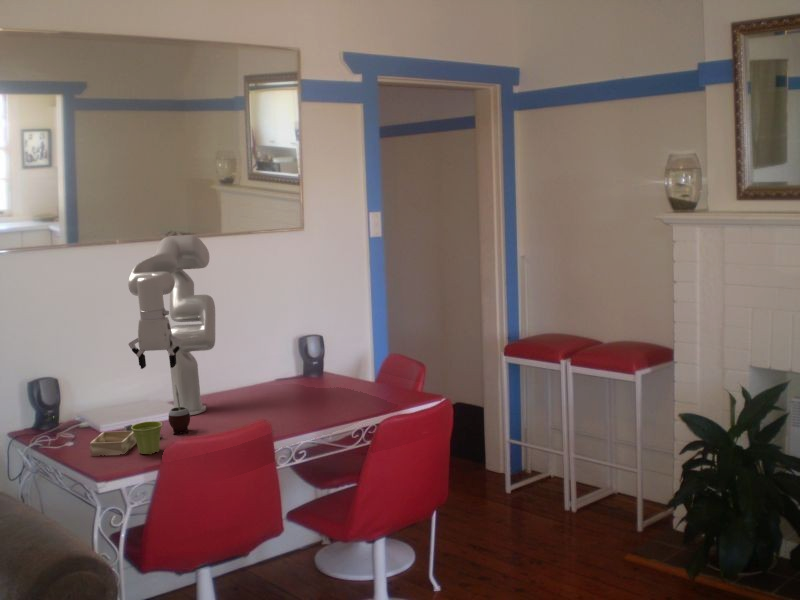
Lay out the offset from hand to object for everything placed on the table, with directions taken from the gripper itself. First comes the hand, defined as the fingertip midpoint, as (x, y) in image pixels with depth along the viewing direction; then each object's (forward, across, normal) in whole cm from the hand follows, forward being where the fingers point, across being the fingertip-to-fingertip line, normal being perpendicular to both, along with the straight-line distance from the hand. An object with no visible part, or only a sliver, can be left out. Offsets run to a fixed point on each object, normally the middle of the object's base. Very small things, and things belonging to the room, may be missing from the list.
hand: (158, 367), depth 301 cm
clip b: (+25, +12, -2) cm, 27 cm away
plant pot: (+25, +2, +10) cm, 27 cm away
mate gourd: (+25, -2, -10) cm, 27 cm away
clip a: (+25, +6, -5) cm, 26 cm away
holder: (+25, +15, +7) cm, 30 cm away
